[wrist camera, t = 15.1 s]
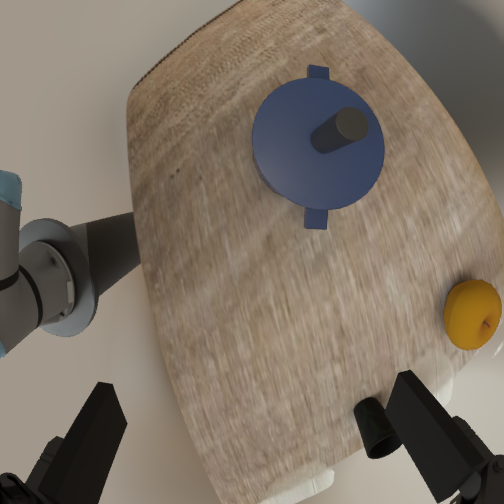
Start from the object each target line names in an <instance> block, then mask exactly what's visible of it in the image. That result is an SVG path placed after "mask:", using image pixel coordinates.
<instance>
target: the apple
mask: <svg viewBox="0 0 504 504" xmlns="http://www.w3.org/2000/svg"><path fill="white" fill-rule="evenodd" d="M501 313H502V304H501V299H500V296H499V295H498V293H497V291H496V289H495V288H494V287H493V286H492V285H491V284H489V283H487V282H485V281H483V280H469V281H465V282H462V283H460V284H457V285H455V287H454V288H453V289H452V290H451V291H450V292H449V294H448V296H447V300H446V303H445V308H444V323H445V328H446V333H447V335H448V337H449V339H450V340H451V342H452V343H453V344H454V345H455V346H457V347H458V348H460V349H463V350H474V349H478V348H480V347H482V346H483V345H484V344H485V343H486V342H487V341H489V340H490V338H491V337H492V336H493V334H494V333H495V331H496V329H497V327H498V324H499V321H500V317H501Z"/></svg>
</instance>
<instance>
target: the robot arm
mask: <svg viewBox="0 0 504 504" xmlns="http://www.w3.org/2000/svg"><path fill="white" fill-rule="evenodd" d="M21 193H22V182H21V179H20V177H19V176H18V175H17V174H15V173H11V172H7V171H2V170H0V358H1V357H4V356H5V355H6V354H7V353H8V352H9V351H10V350H11V349H13V348H14V347H15V346H16V345H17V344H18V343H19V342H21V341H22V340H23V339H24V338H25V337H26V336H27V335H29V334H30V333H31V332H32V331H33V330H34V329H36V328H37V327H39V326H44V325H49V324H54V323H58V322H60V321H62V320H64V319H65V318H66V317H68V316H69V315H70V314H71V313H72V311H73V310H74V307H75V305H76V301H77V284H76V279H75V276H74V273H73V270H72V268H71V265H70V263H69V262H68V260H67V258H66V257H65V256H64V254H63V253H62V252H61V251H60V250H59V249H58V248H57V247H56V246H54V245H53V244H51V243H49V242H46V241H37V242H33V243H31V244H29V245H27V246H26V247H24V248H23V249H22V250H21V251H20V252H19V226H20V212H21V210H22V207H21ZM384 413H385V415H386V416H387V418H388V420H389V421H390V423H391V425H392V426H393V428H394V430H395V431H396V433H397V435H398V436H399V438H400V440H401V441H402V443H403V445H404V446H405V448H406V449H407V451H408V453H409V455H410V456H411V458H412V460H413V461H414V463H415V465H416V467H417V468H418V470H419V472H420V474H421V475H422V477H423V479H424V481H425V482H426V484H427V486H428V488H429V489H430V491H431V493H432V495H433V496H434V498H435V500H436V502H437V503H440V502H442V501H444V500H446V499H447V498H449V497H451V496H452V495H453V494H454V493H455V492H456V491H457V490H458V489H459V491H460V493H459V494H458V495H457V496H456V497H455V498H454V499H453V500H452V501H451V502H450V504H453V503H454V502H455V501H456V503H455V504H504V455H496V456H495V455H493V454H492V452H491V451H490V450H489V449H488V448H487V446H486V445H485V444H484V443H483V441H482V440H481V439H480V438H479V437H478V436H477V435H476V434H475V432H474V431H473V429H471V427H470V426H469V425H468V423H467V422H466V421H465V420H463V419H462V418H460V417H458V416H455V417H453V418H451V416H450V415H449V414H448V413H447V411H446V410H445V409H444V408H443V407H442V405H441V404H440V403H439V402H438V401H437V400H436V398H435V397H434V396H433V395H432V394H431V393H430V391H429V390H428V389H427V388H426V387H425V386H424V384H423V383H422V382H421V381H420V380H419V379H418V377H417V376H416V375H415V374H414V373H413V372H412V371H411V370H408V371H404V372H400V373H398V375H397V378H396V381H395V384H394V387H393V390H392V393H391V396H390V398H389V401H388V404H387V406H386V409H385V411H384ZM126 426H127V421H126V419H125V416H124V414H123V411H122V409H121V406H120V404H119V401H118V398H117V396H116V393H115V390H114V387H113V384H109V383H103V382H98V383H97V385H96V386H95V388H94V389H93V391H92V393H91V394H90V396H89V397H88V399H87V401H86V402H85V404H84V406H83V407H82V409H81V411H80V413H79V414H78V416H77V417H76V419H75V421H74V423H73V424H72V426H71V427H70V429H69V431H68V433H67V434H66V436H65V438H64V439H63V438H61V437H58V436H56V437H55V438H53V439H52V440H51V441H50V442H48V444H47V445H46V447H45V449H44V451H43V453H42V454H41V456H40V459H39V460H38V461H37V463H36V465H35V466H34V468H33V470H32V472H31V474H30V475H29V477H28V479H27V481H26V483H25V484H24V483H23V482H22V481H21V480H20V479H19V478H18V477H17V476H16V475H15V474H12V473H3V474H1V475H0V504H98V503H99V500H100V497H101V494H102V490H103V488H104V485H105V482H106V479H107V477H108V473H109V471H110V468H111V466H112V463H113V460H114V458H115V455H116V452H117V450H118V447H119V444H120V442H121V439H122V437H123V434H124V432H125V429H126Z"/></svg>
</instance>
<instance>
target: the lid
mask: <svg viewBox="0 0 504 504" xmlns="http://www.w3.org/2000/svg"><path fill="white" fill-rule="evenodd" d="M252 146H253V151H254V156H255V159H256V162H257V164H258V166H259V169H260V171H261V172H262V174H263V176H264V177H265V179H266V180H267V181H268V182H269V184H270V185H271V186H272V187H273V188H274V189H275V190H276V191H277V192H278V193H279V194H281V195H282V196H284V197H285V198H286V199H288V200H290V201H292V202H293V203H296V204H298V205H301V206H303V207H307V208H311V209H318V210H332V209H339V208H342V207H346V206H348V205H350V204H353V203H355V202H356V201H358V200H359V199H361V198H362V197H363V196H364V195H366V194H367V193H368V192H369V190H370V189H371V188H372V187H373V185H374V184H375V182H376V181H377V179H378V177H379V175H380V172H381V169H382V166H383V161H384V151H385V149H384V139H383V134H382V130H381V127H380V124H379V122H378V120H377V118H376V116H375V114H374V113H373V111H372V110H371V108H370V107H369V106H368V104H367V103H366V102H365V101H364V100H363V99H362V98H361V97H360V96H359V95H358V94H356V93H355V92H354V91H352V90H351V89H349V88H348V87H346V86H344V85H342V84H340V83H337V82H334V81H331V80H327V79H323V78H302V79H297V80H294V81H290V82H288V83H286V84H284V85H282V86H280V87H279V88H277V89H275V90H274V91H273V92H272V93H271V94H270V95H269V96H268V97H267V98H266V99H265V100H264V102H263V103H262V105H261V106H260V108H259V110H258V112H257V114H256V117H255V120H254V124H253V131H252Z"/></svg>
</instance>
